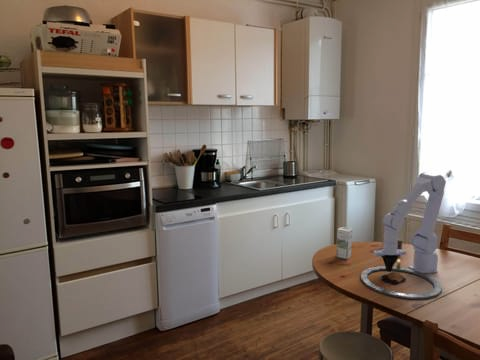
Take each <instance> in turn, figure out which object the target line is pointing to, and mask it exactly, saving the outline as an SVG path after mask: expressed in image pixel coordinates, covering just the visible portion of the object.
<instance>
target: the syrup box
mask: <svg viewBox="0 0 480 360" xmlns="http://www.w3.org/2000/svg"><path fill="white" fill-rule="evenodd" d="M336 235H337V237H336V258H337V259H342V260H343V259H345V260H348V259H349V258H351V256H352V241H353V228H350V227H346V226H340V227H338V228H337V233H336Z"/></svg>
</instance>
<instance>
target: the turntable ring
mask: <svg viewBox="0 0 480 360" xmlns="http://www.w3.org/2000/svg"><path fill="white" fill-rule="evenodd" d="M401 263H402V262H401V258H398V260H397V261H396V265H395V266H393V268H392V270H391V271H395V272H397V271H398V272H404V273H409V274H413V275H416V276H419V277H421V278H422V279H425V280H427V281H428V282H429V283H431V284H432V286H433V289H432V290H431V291H428V292H425V293H403V292H396V291H392V290H389V289H386V288H383V287H380V286H378V285H376V284H374V283H372V281H370V280H369V278H368V275H370V274H372V273H374V272H377V271H378V272H379V271H386V268H385V265H384V266H382V265H378V266H374V267H368V268H366V269H364V270H363V271H361V273H360V280H361V281H362V283H363V284H364V285H365V286H366V287H368V288H370V289H372V290H374V291H375V292H378V293H381V294H383V295H387V296H389V297H393V298H401V299H408V300H427V299H432V298H436V297H438V296H439V295H440V294H441V293H442V291H443V288H442V284H441V283H440V282H439V281H438V280H436V279H435V278H434V277H432V276H431V275H428V274H427V273H422V272H419V271H415V270H413V269H411V268H407V267H401V265H402V264H401Z"/></svg>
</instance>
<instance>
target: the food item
mask: <svg viewBox="0 0 480 360" xmlns="http://www.w3.org/2000/svg"><path fill="white" fill-rule="evenodd" d="M383 244H384V233H383V235H382V246H383ZM402 246H403V241H402V240H401V238H400V236H398V246H397V249H400V250H403V248H402ZM396 256H397V257H400V256H402V255H396Z"/></svg>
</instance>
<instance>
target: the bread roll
mask: <svg viewBox="0 0 480 360" xmlns="http://www.w3.org/2000/svg"><path fill="white" fill-rule="evenodd" d="M407 280H408V279H407V278H406V277H404V276H403V274H401V273H399V272H397V271H391V272H388V273H386V274H383V275H381V278H380V279H379V281H381V282H384V283H386V284H389V285H392V286H399V285H400V284H403V283H404V282H406V281H407Z"/></svg>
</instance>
